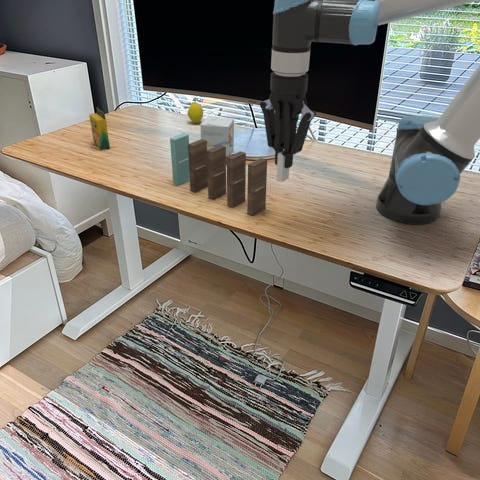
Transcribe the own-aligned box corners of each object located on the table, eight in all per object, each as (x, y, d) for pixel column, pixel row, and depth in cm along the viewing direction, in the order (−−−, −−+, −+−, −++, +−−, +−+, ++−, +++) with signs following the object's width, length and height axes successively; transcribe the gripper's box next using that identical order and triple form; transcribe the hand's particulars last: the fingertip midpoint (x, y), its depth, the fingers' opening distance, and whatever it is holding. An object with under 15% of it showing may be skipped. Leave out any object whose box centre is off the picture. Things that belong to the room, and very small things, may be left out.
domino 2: (208, 186, 131) (206, 140, 124) (195, 192, 128) (193, 145, 121) (203, 184, 132) (201, 138, 125) (190, 190, 129) (187, 144, 122)
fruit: (190, 126, 173) (189, 104, 169) (186, 121, 177) (185, 99, 173) (205, 125, 174) (204, 102, 170) (201, 120, 179) (200, 98, 175)
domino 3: (226, 193, 128) (225, 146, 121) (213, 200, 124) (212, 152, 118) (221, 191, 129) (220, 144, 122) (208, 198, 125) (206, 150, 119)
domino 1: (191, 179, 135) (188, 134, 128) (178, 185, 132) (174, 139, 125) (186, 178, 136) (183, 133, 129) (173, 183, 133) (169, 138, 126)
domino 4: (245, 201, 124) (246, 153, 117) (232, 208, 121) (232, 159, 114) (239, 198, 125) (240, 151, 118) (227, 205, 122) (226, 157, 115)
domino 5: (265, 208, 121) (267, 159, 114) (253, 216, 117) (254, 166, 110) (259, 206, 122) (261, 157, 115) (247, 213, 118) (247, 164, 112)
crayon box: (93, 143, 158) (87, 108, 152) (102, 142, 159) (97, 106, 153) (101, 150, 153) (95, 114, 147) (110, 148, 154) (105, 112, 148)
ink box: (228, 164, 144) (228, 126, 138) (200, 162, 145) (199, 124, 139) (234, 154, 151) (234, 116, 145) (208, 152, 153) (206, 114, 146)
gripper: (327, 74, 96) (315, 182, 109) (274, 63, 103) (269, 166, 116) (306, 81, 91) (296, 193, 104) (252, 69, 98) (249, 176, 111)
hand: (282, 179), depth 110 cm, fingers closed
